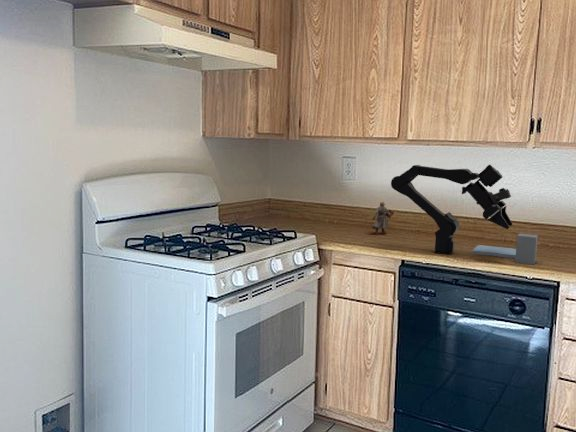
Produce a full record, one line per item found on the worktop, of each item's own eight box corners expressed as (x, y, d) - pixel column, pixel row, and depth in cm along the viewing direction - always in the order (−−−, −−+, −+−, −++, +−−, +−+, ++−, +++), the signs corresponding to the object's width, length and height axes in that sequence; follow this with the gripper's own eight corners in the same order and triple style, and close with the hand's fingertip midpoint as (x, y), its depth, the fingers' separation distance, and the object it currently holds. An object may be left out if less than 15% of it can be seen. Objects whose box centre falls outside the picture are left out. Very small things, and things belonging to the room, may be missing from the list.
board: (472, 253, 220) (472, 250, 220) (478, 247, 232) (478, 244, 232) (526, 259, 211) (526, 256, 211) (530, 253, 223) (530, 250, 223)
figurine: (391, 232, 267) (392, 200, 265) (399, 234, 261) (401, 202, 258) (365, 233, 262) (366, 201, 260) (373, 235, 255) (374, 203, 253)
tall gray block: (515, 262, 205) (517, 235, 204) (517, 259, 211) (519, 233, 209) (533, 264, 202) (536, 237, 201) (535, 261, 208) (537, 235, 206)
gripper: (494, 182, 200) (525, 215, 196) (501, 179, 216) (530, 210, 212) (470, 202, 205) (499, 235, 201) (479, 198, 221) (506, 228, 217)
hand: (510, 226), depth 208 cm, fingers open, 9 cm apart
